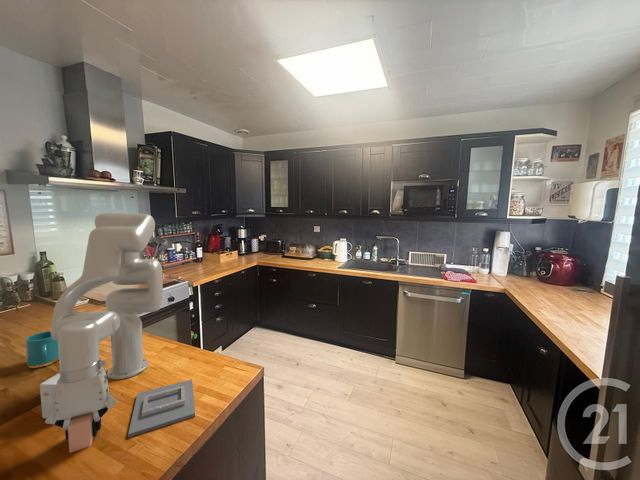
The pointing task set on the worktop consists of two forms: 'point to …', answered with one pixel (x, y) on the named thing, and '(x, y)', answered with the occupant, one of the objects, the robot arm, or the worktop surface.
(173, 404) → the nest board
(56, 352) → the cup
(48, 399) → the small box
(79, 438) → the key block
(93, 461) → the worktop surface
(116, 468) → the worktop surface
